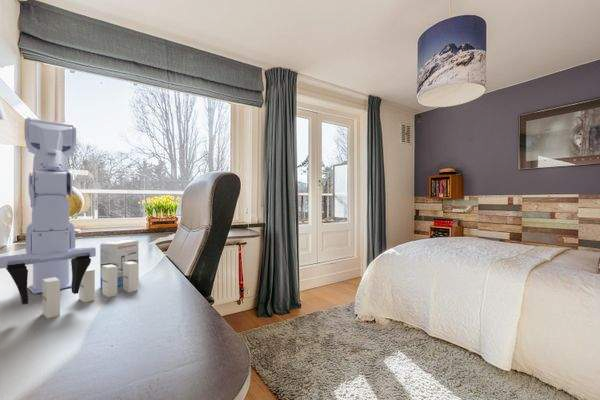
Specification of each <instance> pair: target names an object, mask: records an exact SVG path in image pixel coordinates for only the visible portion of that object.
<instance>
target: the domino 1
mask: <svg viewBox="0 0 600 400" xmlns="http://www.w3.org/2000/svg"><path fill="white" fill-rule="evenodd" d="M42 315H43V316H44V317H45V319H50V318H51V319H52V318H54V317H58V316H61V289H60V280H59V279H57V278H56V277H53V278H47V279H43V292H42Z"/></svg>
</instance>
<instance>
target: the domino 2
mask: <svg viewBox="0 0 600 400" xmlns="http://www.w3.org/2000/svg"><path fill="white" fill-rule="evenodd" d="M95 274H96V273H95V269H93V268H91V267H88V268H87V270H86V271H85V273H84V276H83V278H82V281H81V284H80V287H79V292H78V300H79V301H81V302H82V303H88V302H93V301H95V299H96V296H95V295H96V294H95V293H96V291H95V284H96V283H95V279H96V278H95V277H96V275H95Z"/></svg>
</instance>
